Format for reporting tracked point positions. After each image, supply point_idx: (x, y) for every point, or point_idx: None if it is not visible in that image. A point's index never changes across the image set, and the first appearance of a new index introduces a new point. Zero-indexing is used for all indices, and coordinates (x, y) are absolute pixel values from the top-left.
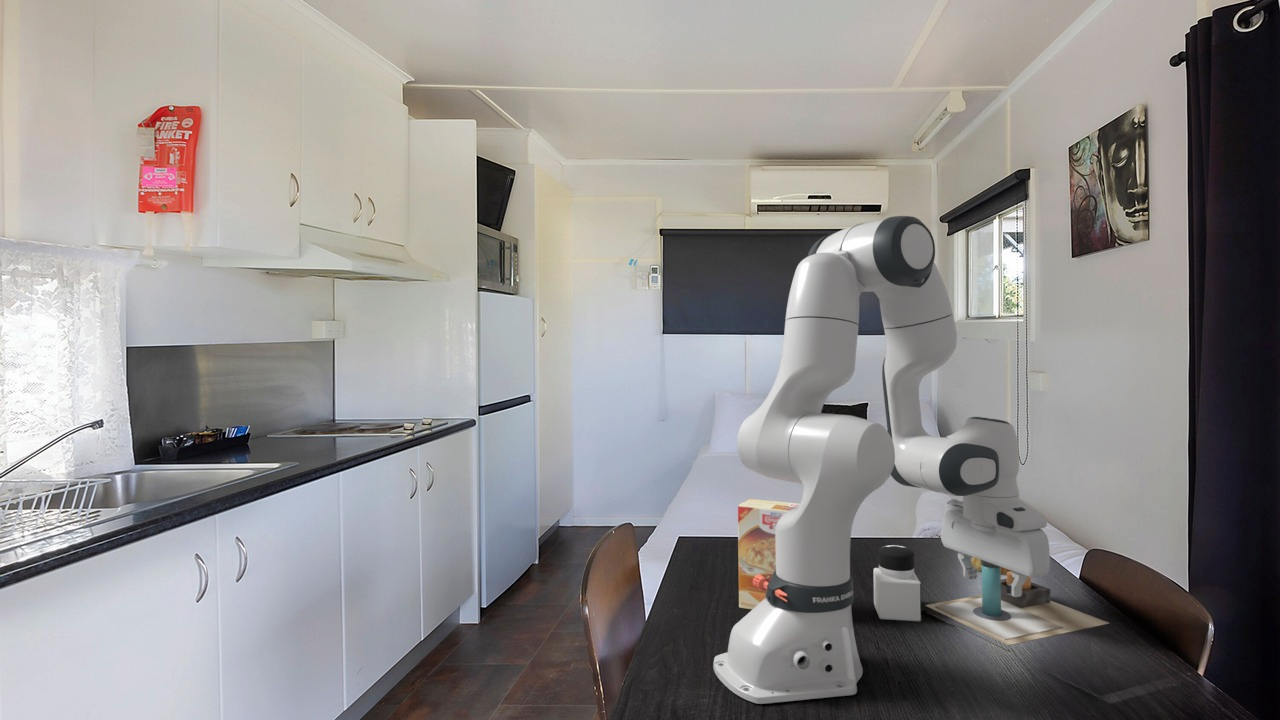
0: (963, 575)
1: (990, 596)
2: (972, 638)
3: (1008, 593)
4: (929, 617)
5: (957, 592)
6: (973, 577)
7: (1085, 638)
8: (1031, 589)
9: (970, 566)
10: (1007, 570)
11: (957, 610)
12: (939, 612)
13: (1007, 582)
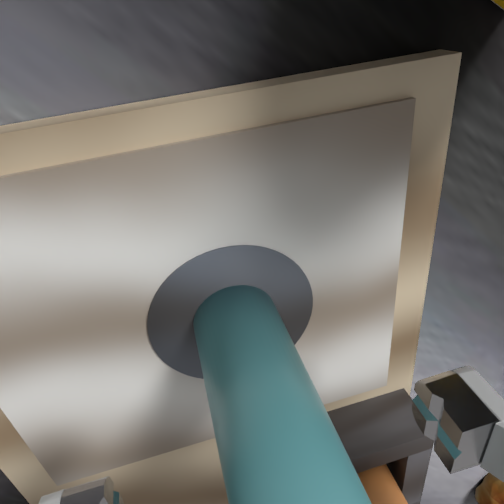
0: (473, 369)
1: (223, 378)
2: (9, 66)
3: (92, 485)
4: (360, 7)
5: (492, 312)
6: (421, 405)
7: (17, 496)
8: None
9: (495, 460)
10: (498, 487)
11: (321, 187)
12: (346, 71)
13: (382, 484)
